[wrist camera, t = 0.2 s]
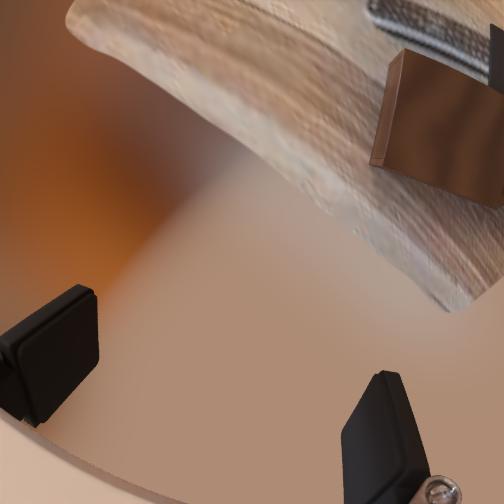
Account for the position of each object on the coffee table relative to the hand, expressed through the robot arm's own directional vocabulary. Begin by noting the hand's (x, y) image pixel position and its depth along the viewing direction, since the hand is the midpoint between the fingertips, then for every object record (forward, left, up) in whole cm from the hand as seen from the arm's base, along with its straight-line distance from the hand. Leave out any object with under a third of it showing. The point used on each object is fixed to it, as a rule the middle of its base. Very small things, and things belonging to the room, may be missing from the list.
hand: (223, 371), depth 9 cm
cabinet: (-15, +17, -31) cm, 38 cm away
